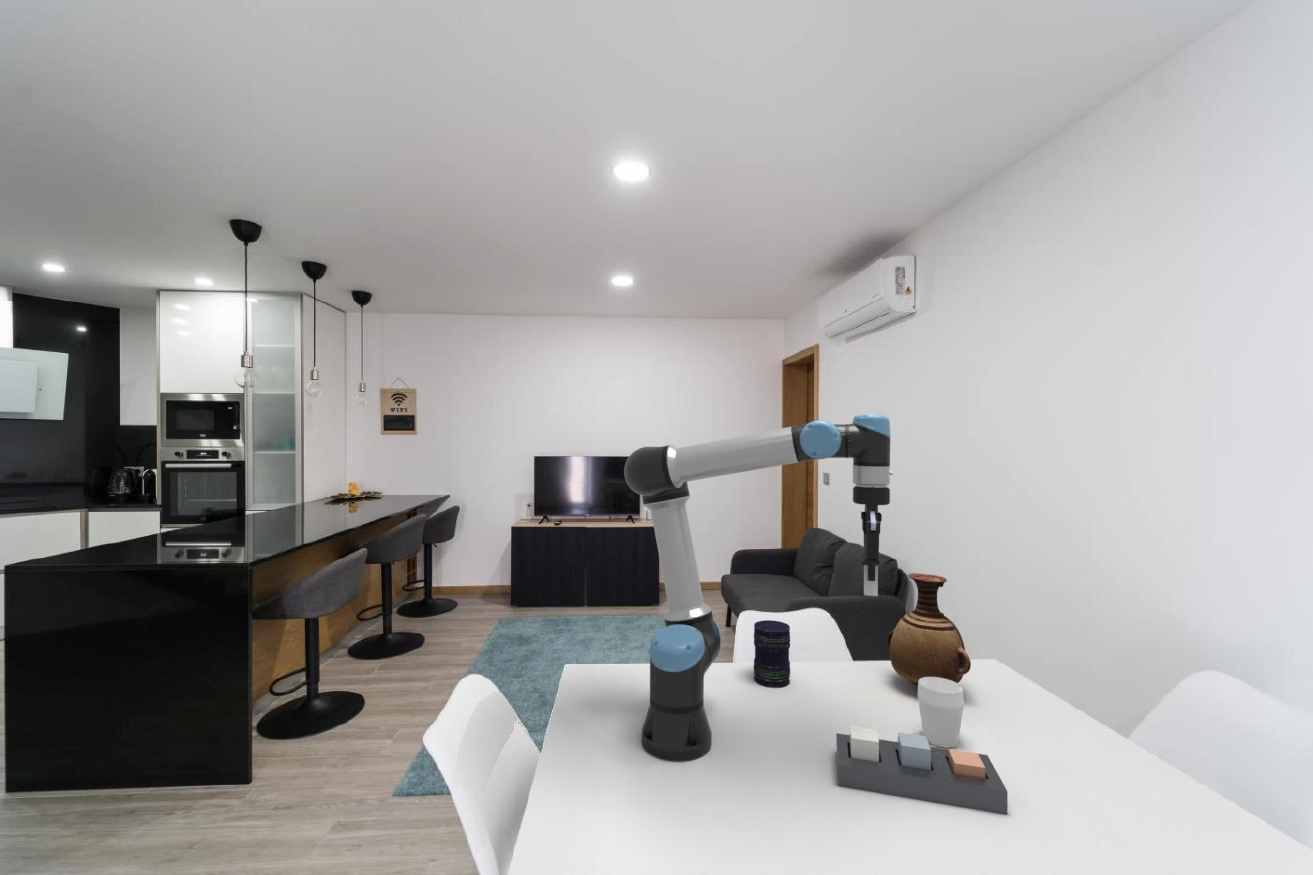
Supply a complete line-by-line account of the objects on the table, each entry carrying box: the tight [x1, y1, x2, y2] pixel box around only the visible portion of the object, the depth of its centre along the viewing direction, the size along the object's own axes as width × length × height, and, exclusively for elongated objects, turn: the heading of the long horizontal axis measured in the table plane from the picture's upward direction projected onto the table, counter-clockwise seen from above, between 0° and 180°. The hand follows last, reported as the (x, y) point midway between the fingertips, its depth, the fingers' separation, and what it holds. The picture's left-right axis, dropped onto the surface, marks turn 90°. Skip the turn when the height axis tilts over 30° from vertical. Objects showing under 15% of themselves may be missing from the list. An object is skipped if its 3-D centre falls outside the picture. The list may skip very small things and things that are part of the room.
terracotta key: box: [948, 748, 985, 779], centre depth 103 cm, size 5×5×5 cm
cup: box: [917, 677, 965, 749], centre depth 121 cm, size 9×9×12 cm
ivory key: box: [849, 725, 879, 762], centre depth 108 cm, size 5×5×5 cm
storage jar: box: [753, 619, 791, 689], centre depth 152 cm, size 10×10×15 cm
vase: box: [886, 572, 972, 687], centre depth 146 cm, size 21×18×30 cm
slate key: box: [897, 732, 931, 770], centre depth 106 cm, size 5×5×5 cm
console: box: [835, 733, 1009, 815], centre depth 106 cm, size 28×12×4 cm, turn 73°
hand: (870, 594), depth 119 cm, fingers closed
